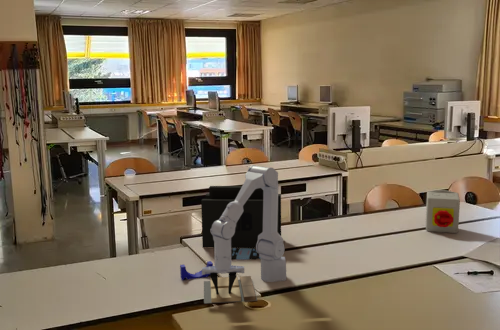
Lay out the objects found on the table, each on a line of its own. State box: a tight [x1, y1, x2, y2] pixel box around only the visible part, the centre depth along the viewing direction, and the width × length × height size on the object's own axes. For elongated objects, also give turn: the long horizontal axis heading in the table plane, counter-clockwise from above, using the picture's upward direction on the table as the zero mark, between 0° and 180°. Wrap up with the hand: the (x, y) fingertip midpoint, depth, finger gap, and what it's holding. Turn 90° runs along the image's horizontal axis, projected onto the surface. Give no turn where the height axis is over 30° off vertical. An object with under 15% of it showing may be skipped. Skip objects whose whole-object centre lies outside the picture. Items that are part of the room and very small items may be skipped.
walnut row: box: [239, 275, 257, 302], centre depth 190 cm, size 4×19×1 cm, turn 5°
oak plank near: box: [211, 287, 241, 303], centre depth 184 cm, size 10×8×1 cm
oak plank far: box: [209, 276, 239, 289], centre depth 194 cm, size 10×8×1 cm
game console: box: [200, 185, 282, 261], centre depth 237 cm, size 35×30×27 cm
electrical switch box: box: [425, 189, 461, 234], centre depth 258 cm, size 15×15×20 cm
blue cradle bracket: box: [179, 260, 214, 281], centre depth 203 cm, size 12×4×6 cm, turn 108°
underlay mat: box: [203, 279, 258, 304], centre depth 189 cm, size 18×20×1 cm
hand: (223, 293), depth 183 cm, fingers closed on oak plank near, 3 cm apart
